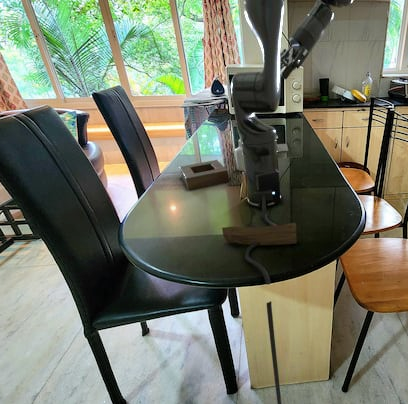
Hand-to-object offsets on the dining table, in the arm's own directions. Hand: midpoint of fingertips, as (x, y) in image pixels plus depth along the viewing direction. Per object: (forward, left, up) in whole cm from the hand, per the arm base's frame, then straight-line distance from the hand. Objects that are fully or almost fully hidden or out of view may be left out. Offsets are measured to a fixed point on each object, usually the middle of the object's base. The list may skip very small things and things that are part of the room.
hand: (277, 77), depth 91 cm
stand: (+4, +28, -31) cm, 41 cm away
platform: (+26, -5, -31) cm, 41 cm away
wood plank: (-42, +26, -31) cm, 58 cm away
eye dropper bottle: (+6, +12, -31) cm, 34 cm away
